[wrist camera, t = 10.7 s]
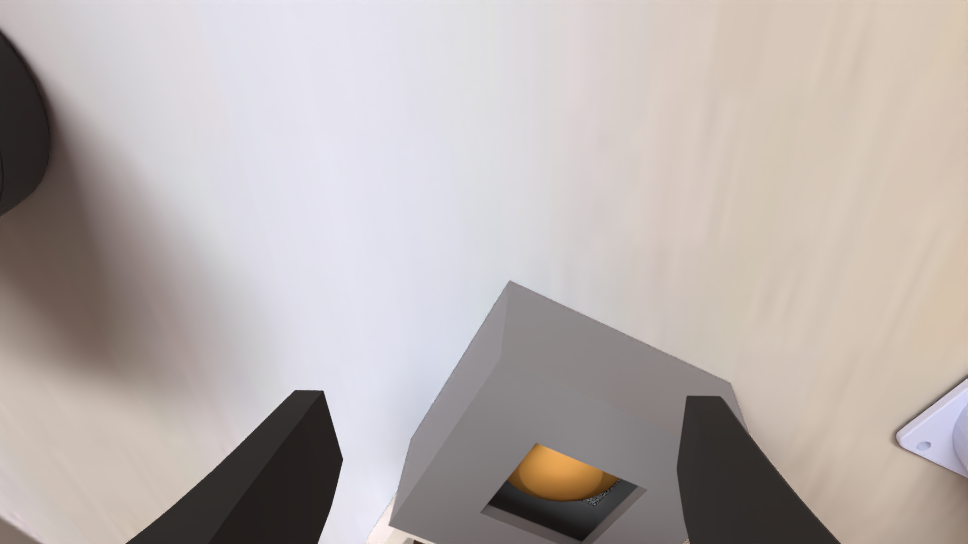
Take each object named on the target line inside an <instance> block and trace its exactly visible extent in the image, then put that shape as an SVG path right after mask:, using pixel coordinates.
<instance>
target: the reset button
mask: <svg viewBox="0 0 968 544" xmlns="http://www.w3.org/2000/svg"><path fill="white" fill-rule="evenodd" d="M618 479H619V478H618V477H616V476H614V475H611V474H609V473H606V472H604V471H602V470H599V469H597V468H595V467H592V466H590V465H587V464H585V463H583V462H580V461H578V460H576V459H573V458H571V457H568V456H566V455H564V454H561V453H559V452H556V451H554V450H552V449H549V448H547V447H545V446H542V445H540V444H537V443H536V444H535V445H534V446H533V448H532V449H531V450H530V451H529V453H528V454H527V455H526V456H525V457H524V459H523V460H522V461H521V462H520V464H519V465H518V466H517V467H516V469H515V470H514V471H513V472H512V474H511V475H510V476H509V477H508V479H507V480H508V481H509V482H510V483H511V484H512V485H513V486H515V487H516V488H517V489H519V490H520V491H522V492H524V493H526V494H528V495H530V496H533V497H536V498H540V499H543V500H549V501H557V502H571V501H579V500H584V499H588V498H591V497H594V496H597V495H599V494H601V493H603V492H605V491H606V490H607V489H609V488H610V487H611V486H613V485H614V484H615V483H616V481H617V480H618Z"/></svg>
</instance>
